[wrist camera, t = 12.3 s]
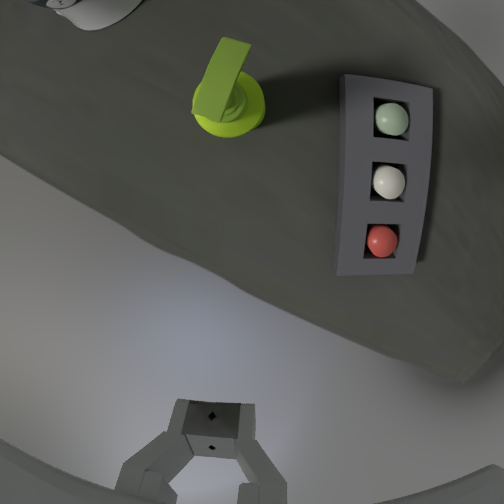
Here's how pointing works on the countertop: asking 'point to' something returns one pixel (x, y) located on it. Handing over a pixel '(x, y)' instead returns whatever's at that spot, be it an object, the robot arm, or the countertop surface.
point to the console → (360, 171)
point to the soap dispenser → (228, 93)
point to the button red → (380, 239)
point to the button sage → (390, 119)
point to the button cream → (387, 181)
